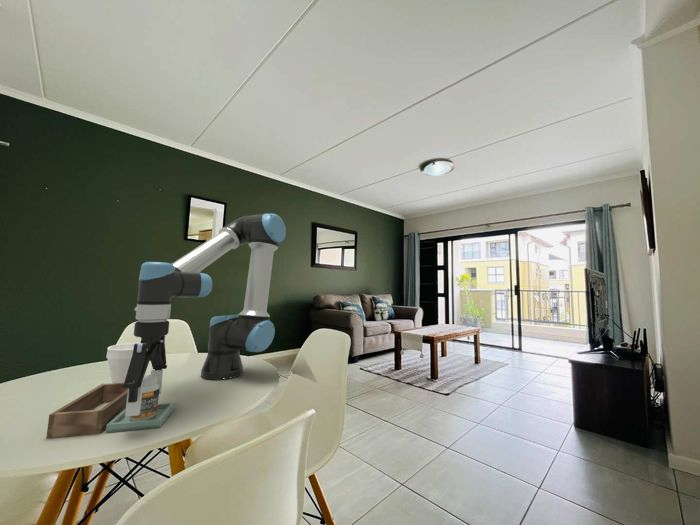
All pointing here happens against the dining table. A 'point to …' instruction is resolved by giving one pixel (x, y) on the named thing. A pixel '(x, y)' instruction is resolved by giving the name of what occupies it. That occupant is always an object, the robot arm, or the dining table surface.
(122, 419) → the tray
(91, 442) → the dining table surface
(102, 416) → the caddy
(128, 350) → the white flower pot
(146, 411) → the pill bottle
